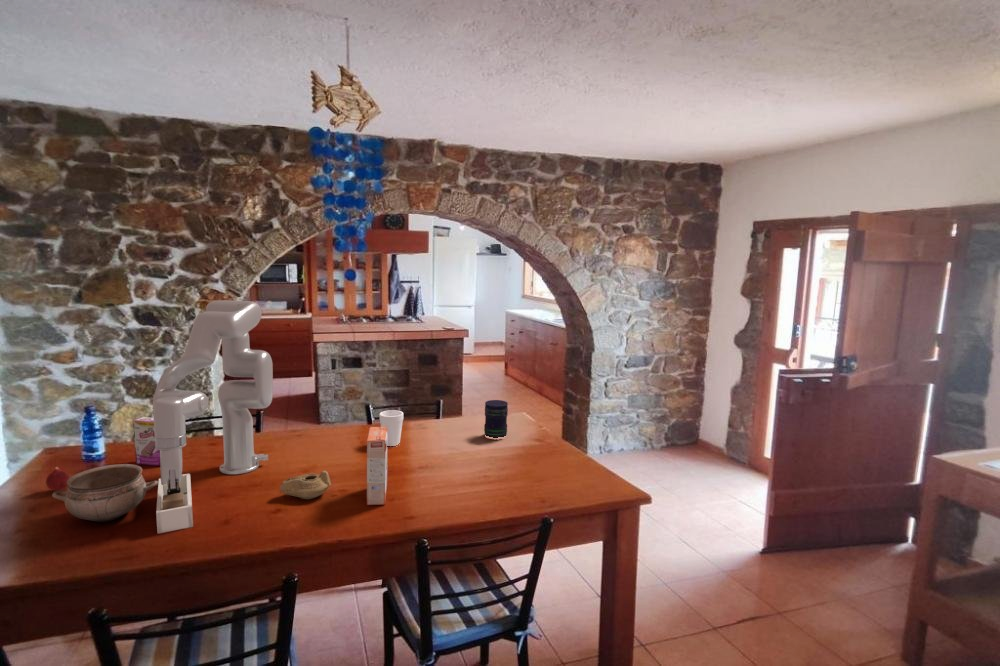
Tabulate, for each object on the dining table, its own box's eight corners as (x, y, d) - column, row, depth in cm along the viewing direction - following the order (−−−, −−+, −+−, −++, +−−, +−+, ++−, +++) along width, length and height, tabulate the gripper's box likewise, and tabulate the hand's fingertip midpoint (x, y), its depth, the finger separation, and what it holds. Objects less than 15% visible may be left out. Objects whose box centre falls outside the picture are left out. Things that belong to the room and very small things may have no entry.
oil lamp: (279, 493, 174) (278, 469, 173) (327, 485, 181) (327, 462, 180) (282, 507, 164) (281, 482, 163) (333, 499, 171) (333, 474, 170)
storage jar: (481, 439, 231) (482, 405, 229) (486, 432, 240) (487, 399, 238) (505, 441, 229) (506, 406, 227) (508, 434, 239) (509, 400, 237)
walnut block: (184, 508, 156) (183, 492, 155) (184, 516, 151) (183, 499, 151) (163, 512, 153) (162, 495, 152) (163, 520, 149) (162, 502, 148)
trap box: (191, 491, 174) (190, 473, 173) (193, 526, 152) (192, 506, 151) (160, 496, 170) (158, 478, 169) (157, 533, 147) (156, 512, 147)
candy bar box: (134, 465, 194) (131, 420, 192) (145, 459, 199) (142, 416, 196) (164, 467, 193) (161, 422, 190) (174, 461, 198) (171, 417, 195)
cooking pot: (41, 539, 143) (37, 495, 141) (67, 508, 160) (63, 468, 159) (152, 524, 152) (150, 482, 151) (165, 496, 170) (163, 459, 168)
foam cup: (400, 448, 217) (400, 417, 215) (377, 448, 217) (377, 416, 215) (405, 440, 226) (405, 410, 225) (382, 440, 226) (382, 409, 225)
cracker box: (386, 505, 168) (386, 439, 165) (366, 506, 167) (365, 440, 164) (388, 486, 181) (388, 425, 179) (369, 487, 180) (369, 426, 178)
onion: (75, 489, 173) (73, 465, 172) (55, 496, 168) (53, 471, 166) (62, 486, 175) (60, 462, 174) (42, 493, 169) (40, 469, 168)
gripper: (156, 435, 158) (159, 495, 161) (154, 451, 145) (158, 516, 148) (185, 431, 162) (189, 490, 164) (186, 447, 149) (189, 510, 152)
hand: (174, 502), depth 156 cm, fingers closed
